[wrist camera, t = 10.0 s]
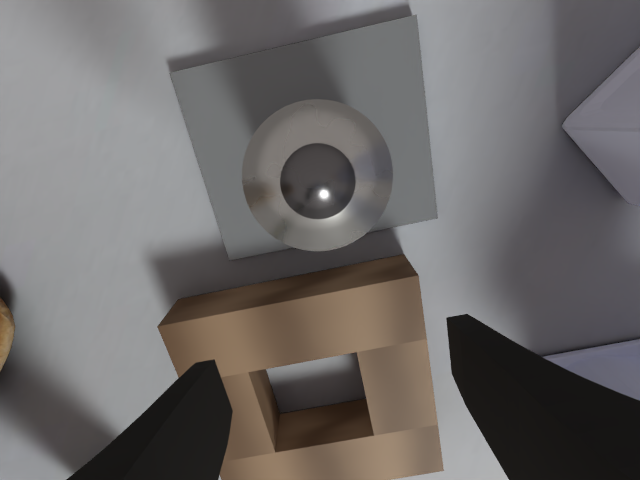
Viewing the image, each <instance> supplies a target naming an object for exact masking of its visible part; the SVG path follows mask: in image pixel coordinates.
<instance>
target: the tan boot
mask: <svg viewBox="0 0 640 480" xmlns="http://www.w3.org/2000/svg"><path fill="white" fill-rule="evenodd" d="M14 330H15V324H14V319H13V315H12V314H11V312H10V310H9V308H8V307H7V306H6V304H5V303H4V301H3V300H2V299H1V298H0V371H1V369H2V367H3V365H4V363H5V361H6V359H7V357H8V355H9V352H10V349H11V346H12V342H13V337H14Z"/></svg>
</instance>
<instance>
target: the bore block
mask: <svg viewBox="0 0 640 480" xmlns="http://www.w3.org/2000/svg"><path fill="white" fill-rule="evenodd" d="M157 327H158V329H159V332H160V334H161V336H162V339H163V341H164V343H165V346H166V348H167V351H168V353H169V355H170V358H171V360H172V363H173V365H174V367H175V370H176V372H177V374H178V377H181V376H182V375H183V374H184V373H185V372H186V371H187V370H188V369H189V368H190V367H191V366H192V365H194V364H195V363H196V362H202V361H207V360H213V359H215V362H216V365H217V368H218V370H219V373H220V376H221V379H222V382H223V384H224V387H225V390H226V393H227V396H228V398H229V401H230V404H231V407H232V409H233V413H232V420H231V428H230V434H229V440H228V445H227V449H226V453H225V456H224V460H223V463H222V467H221V471H220V477H221V479H222V480H391V479H397V478H403V477H409V476H415V475H421V474H427V473H433V472H439V471H444V469H443V462H442V454H441V446H440V438H439V431H438V423H437V415H436V407H435V400H434V392H433V384H432V376H431V369H430V361H429V353H428V346H427V338H426V330H425V322H424V315H423V307H422V299H421V291H420V284H419V276H418V274H417V273H416V271H415V270H414V268H413V267H412V265H411V264H410V262H409V261H408V259H407V258H406V256H405V255H404V254H403V255H398V256H393V257H388V258H383V259H378V260H373V261H368V262H363V263H358V264H353V265H348V266H343V267H338V268H333V269H328V270H323V271H318V272H313V273H308V274H303V275H298V276H293V277H288V278H283V279H278V280H273V281H268V282H263V283H258V284H253V285H248V286H243V287H238V288H233V289H228V290H223V291H218V292H212V293H207V294H202V295H197V296H192V297H187V298H182V299H178V300H177V302H176V303H175V304H174V306H173V307H172V308H171V310H170V311H169V312H168V313H167V315H166V316H165V317H164V319H163V320H162V321H161V323H160V324H159V325H158V326H157ZM354 352H357V357H358V361H359V366H360V371H361V376H362V380H363V385H364V390H365V395H366V399H362V400H356V401H350V402H345V403H339V404H334V405H328V406H322V407H317V408H311V409H306V410H300V411H294V412H289V413H283V414H280V413H279V410H278V406H277V403H276V400H275V397H274V394H273V391H272V387H271V384H270V381H269V378H268V375H267V372H266V369H268V368H274V367H279V366H285V365H290V364H295V363H301V362H306V361H311V360H317V359H322V358H328V357H333V356H338V355H344V354H349V353H354Z"/></svg>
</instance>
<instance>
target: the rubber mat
mask: <svg viewBox="0 0 640 480" xmlns="http://www.w3.org/2000/svg"><path fill="white" fill-rule="evenodd" d="M170 76H171V79H172V82H173V85H174V88H175V91H176V95H177V98H178V101H179V104H180V107H181V110H182V113H183V117H184V120H185V123H186V126H187V129H188V132H189V135H190V138H191V142H192V145H193V148H194V151H195V154H196V157H197V160H198V164H199V167H200V170H201V173H202V176H203V179H204V182H205V186H206V189H207V192H208V195H209V198H210V201H211V204H212V207H213V211H214V214H215V217H216V220H217V223H218V226H219V229H220V233H221V236H222V239H223V242H224V245H225V248H226V251H227V255H228V258H229V261H231V260H235V259H240V258H245V257H250V256H255V255H260V254H265V253H270V252H275V251H280V250H284V249H289V248H294V247H291V246H289V245H286V244H284V243H282V242H280V241H279V240H277V239H275V238H274V237H273V236H271V235H270V234H269V233H268V232H267V231H266V230H265V229H264V228H263V227H262V226H261V225H260V224H259V223H258V221H257V220H256V219H255V217H254V216H253V214H252V212H251V211H250V209H249V206H248V204H247V202H246V198H245V195H244V191H243V185H242V166H243V160H244V156H245V152H246V149H247V147H248V144H249V142H250V140H251V138H252V136H253V135H254V133H255V132H256V130H257V129H258V128H259V126H260V125H261V124H262V123H263V122H264V121H265V120H266V119H267V118H268V117H269V116H271V115H272V114H273V113H275V112H276V111H278V110H280V109H281V108H283V107H285V106H287V105H290V104H292V103H295V102H299V101H304V100H311V99H324V100H331V101H336V102H340V103H342V104H345V105H348V106H350V107H352V108H354V109H356V110H357V111H359V112H360V113H362V114H363V115H364V116H366V117H367V118H368V119H369V120H370V121H371V122H372V123H373V124H374V125H375V127H376V128H377V129H378V130H379V132H380V133H381V135H382V137H383V138H384V140H385V142H386V144H387V147H388V149H389V152H390V156H391V159H392V166H393V184H392V191H391V195H390V199H389V201H388V204H387V206H386V208H385V210H384V212H383V214H382V216H381V217H380V219H379V220H378V221H377V223H376V224H375V225H374V226H373V227H372V228H371V229H370V230H369V231H368V232H373V231H378V230H383V229H388V228H392V227H397V226H402V225H407V224H412V223H417V222H422V221H427V220H432V219H437V218H438V216H437V206H436V197H435V187H434V177H433V168H432V158H431V148H430V139H429V129H428V119H427V110H426V100H425V90H424V81H423V71H422V61H421V51H420V42H419V32H418V22H417V15H412V16H408V17H404V18H400V19H395V20H391V21H387V22H383V23H378V24H374V25H370V26H366V27H362V28H357V29H353V30H349V31H345V32H340V33H336V34H332V35H328V36H323V37H319V38H315V39H311V40H306V41H302V42H298V43H294V44H289V45H285V46H281V47H277V48H272V49H268V50H264V51H260V52H255V53H251V54H247V55H243V56H238V57H234V58H230V59H226V60H221V61H217V62H213V63H209V64H204V65H200V66H196V67H192V68H187V69H183V70H179V71H175V72H170ZM368 232H367V233H368Z"/></svg>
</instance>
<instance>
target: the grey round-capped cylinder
mask: <svg viewBox="0 0 640 480" xmlns="http://www.w3.org/2000/svg"><path fill="white" fill-rule="evenodd" d="M392 184H393V166H392V159H391V156H390V152H389V149H388V147H387V144H386V142H385V140H384V138H383V137H382V135H381V133H380V132H379V130H378V129H377V128H376V127H375V125H374V124H373V123H372V122H371V121H370V120H369V119H368V118H367V117H366V116H364V115H363V114H362V113H360V112H359V111H357V110H356V109H354V108H352V107H350V106H348V105H345V104H342V103H340V102H336V101H331V100H324V99H311V100H304V101H299V102H295V103H292V104H290V105H287V106H285V107H283V108H281V109H280V110H278V111H276V112H275V113H273V114H272V115H271V116H269V117H268V118H267V119H266V120H265V121H264V122H263V123H262V124H261V125H260V126H259V128H258V129H257V130H256V132H255V133H254V135H253V136H252V138H251V140H250V142H249V144H248V147H247V149H246V152H245V156H244V160H243V166H242V185H243V191H244V195H245V198H246V202H247V204H248V206H249V209H250V211H251V212H252V214H253V216H254V217H255V219H256V220H257V221H258V223H259V224H260V225H261V226H262V227H263V228H264V229H265V230H266V231H267V232H268V233H269V234H270V235H271V236H273V237H274V238H275V239H277V240H279V241H280V242H282V243H284V244H286V245H289V246H291V247H294V248H297V249H301V250H307V251H329V250H333V249H338V248H341V247H344V246H346V245H349V244H351V243H353V242H355V241H356V240H358V239H359V238H361V237H362V236H364V235H365V234H366V233H367V232H368V231H369V230H370V229H371V228H372V227H373V226H374V225H375V224H376V223H377V221H378V220H379V219H380V217H381V216H382V214H383V212H384V210H385V208H386V206H387V204H388V201H389V199H390V195H391V191H392Z"/></svg>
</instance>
